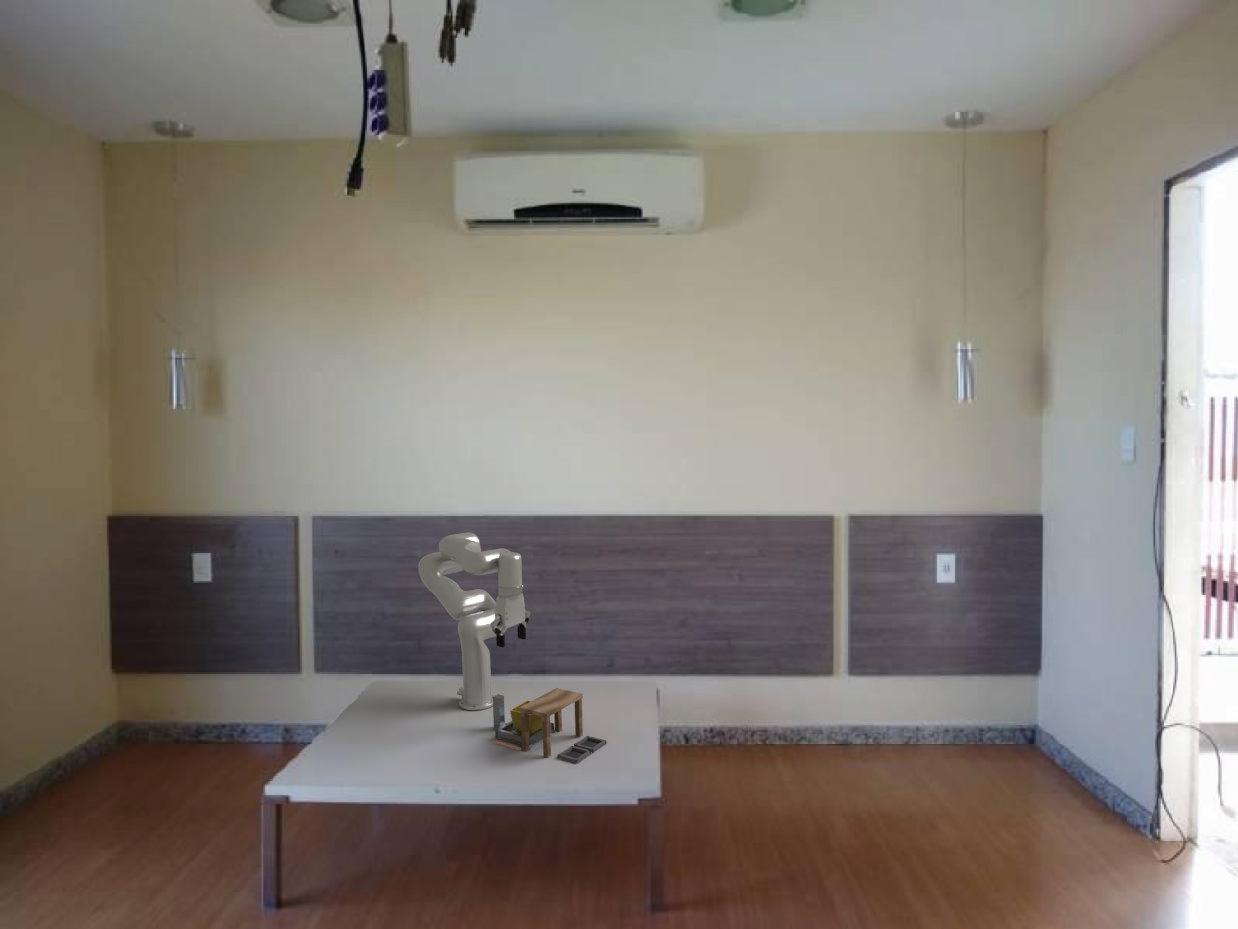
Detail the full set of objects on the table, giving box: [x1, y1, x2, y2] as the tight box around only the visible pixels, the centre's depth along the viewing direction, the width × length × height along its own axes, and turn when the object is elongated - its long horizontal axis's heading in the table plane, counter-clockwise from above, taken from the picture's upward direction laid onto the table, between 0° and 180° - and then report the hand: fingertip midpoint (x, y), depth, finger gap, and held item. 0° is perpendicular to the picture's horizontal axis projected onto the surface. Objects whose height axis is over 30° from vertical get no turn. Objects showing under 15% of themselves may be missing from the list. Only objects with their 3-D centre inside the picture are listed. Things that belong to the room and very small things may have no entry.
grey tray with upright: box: [492, 694, 555, 746], centre depth 236 cm, size 18×13×10 cm
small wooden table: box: [520, 687, 584, 758], centre depth 229 cm, size 10×18×13 cm, turn 147°
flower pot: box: [510, 700, 542, 735], centre depth 235 cm, size 9×9×9 cm
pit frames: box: [557, 735, 607, 765], centre depth 224 cm, size 7×15×1 cm, turn 147°
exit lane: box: [492, 726, 555, 751], centre depth 235 cm, size 10×18×1 cm, turn 147°
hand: (511, 642), depth 246 cm, fingers open, 9 cm apart
